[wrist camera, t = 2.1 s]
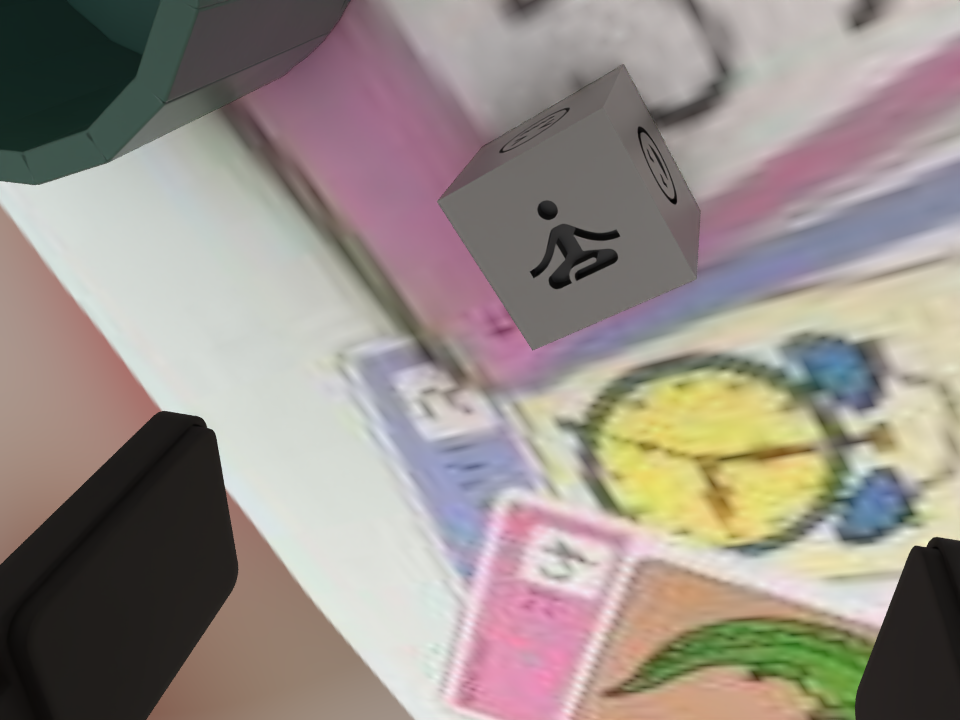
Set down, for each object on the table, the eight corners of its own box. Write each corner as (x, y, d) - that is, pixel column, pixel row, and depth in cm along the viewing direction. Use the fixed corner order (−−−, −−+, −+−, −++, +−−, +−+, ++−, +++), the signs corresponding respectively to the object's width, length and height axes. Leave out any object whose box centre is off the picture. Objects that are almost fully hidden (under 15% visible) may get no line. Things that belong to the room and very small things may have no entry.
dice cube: (560, 277, 28) (532, 350, 24) (481, 147, 26) (436, 201, 22) (700, 210, 26) (696, 279, 21) (623, 64, 24) (603, 107, 20)
